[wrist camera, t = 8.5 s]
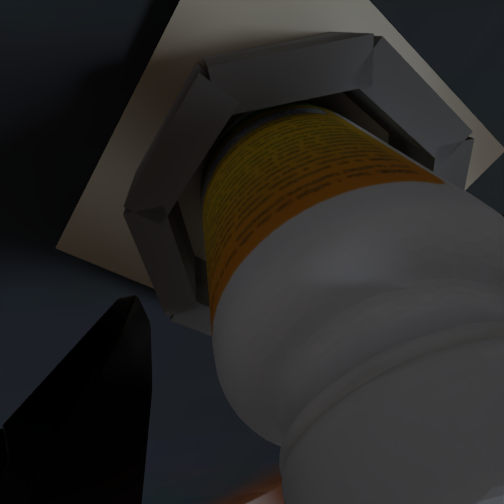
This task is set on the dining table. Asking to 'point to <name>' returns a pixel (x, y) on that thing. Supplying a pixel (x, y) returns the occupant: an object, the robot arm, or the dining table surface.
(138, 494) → the robot arm
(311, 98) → the collar
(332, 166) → the supplement bottle
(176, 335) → the dining table surface
